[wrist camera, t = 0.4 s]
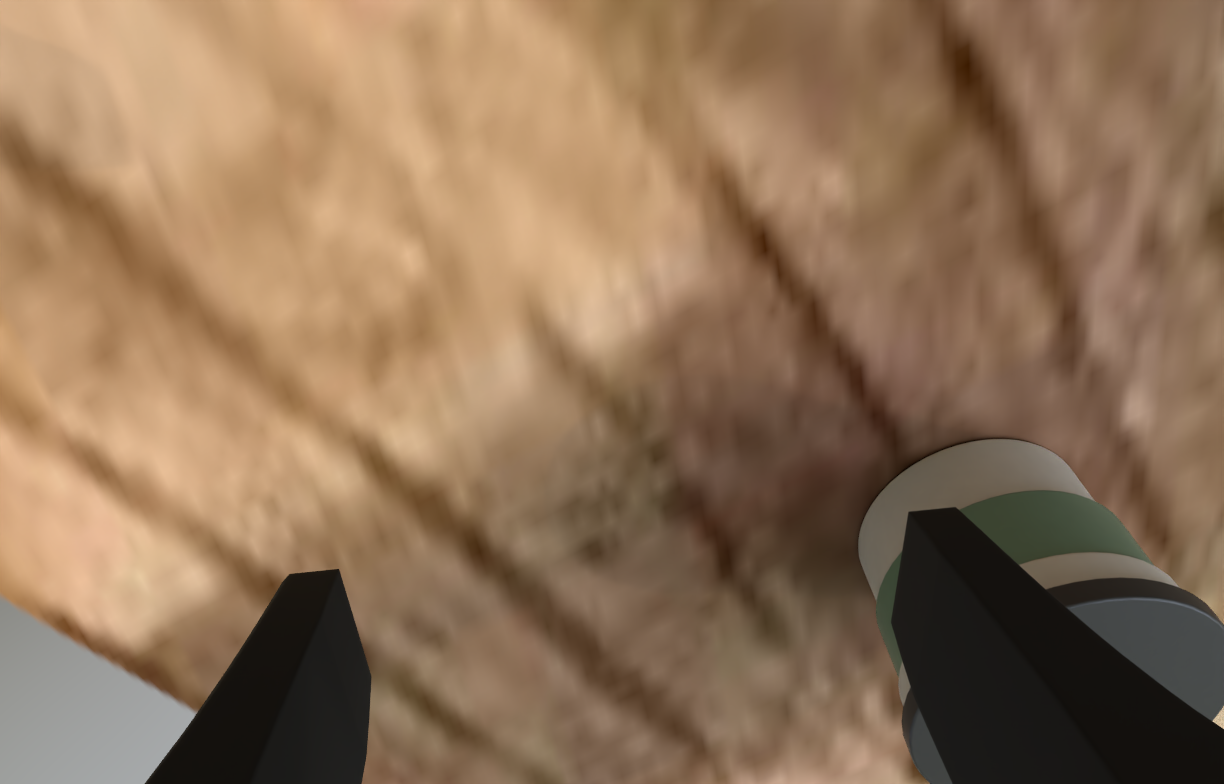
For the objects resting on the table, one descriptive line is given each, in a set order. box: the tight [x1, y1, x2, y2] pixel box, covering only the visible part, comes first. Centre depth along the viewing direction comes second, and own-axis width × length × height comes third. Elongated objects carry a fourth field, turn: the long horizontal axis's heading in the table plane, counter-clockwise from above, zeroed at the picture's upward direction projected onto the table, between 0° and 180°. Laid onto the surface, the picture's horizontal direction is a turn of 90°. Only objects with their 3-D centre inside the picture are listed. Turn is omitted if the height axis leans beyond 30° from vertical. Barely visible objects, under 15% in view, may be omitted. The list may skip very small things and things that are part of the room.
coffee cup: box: [858, 439, 1224, 784], centre depth 24 cm, size 7×7×6 cm
